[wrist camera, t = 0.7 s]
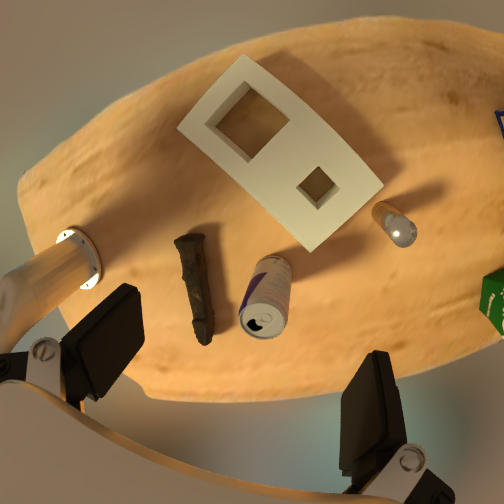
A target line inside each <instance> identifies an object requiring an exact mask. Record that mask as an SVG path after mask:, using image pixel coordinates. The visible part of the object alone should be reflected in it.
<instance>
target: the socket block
mask: <svg viewBox="0 0 504 504" xmlns="http://www.w3.org/2000/svg"><path fill="white" fill-rule="evenodd" d="M251 88H252V89H254V90H255V91H256V92H257V93H258V94H260V95H261V96H262V97H263V98H265V99H266V100H267V101H268V102H269V103H271V104H272V105H273V106H274V107H275V108H276V109H278V110H279V111H280V112H281V113H282V114H283V115H284V116H285V117H287V118H288V119H289V120H290V121H289V122H288V123H287V124H286V125H285V126H284V127H283V128H282V129H281V130H280V131H279V132H278V133H277V134H276V135H275V136H274V137H273V138H272V139H271V140H270V141H269V142H268V143H267V144H266V145H265V146H264V147H263V148H262V149H261V150H260V151H259V153H258V154H257V155H256V156H255V157H254V158H253V159H252V158H251V157H249V156H248V155H247V154H246V153H245V152H244V151H243V150H242V149H241V148H239V147H238V146H237V145H236V144H235V143H234V142H233V141H232V140H230V139H229V138H228V137H227V136H226V135H225V134H224V133H222V132H221V131H220V130H219V129H218V128H217V127H215V126H216V125H217V124H218V123H219V122H220V121H221V120H222V119H223V117H224V116H225V115H226V114H227V113H228V112H229V111H230V110H231V109H232V108H233V106H234V105H235V104H236V103H237V102H238V101H239V100H240V99H241V98H242V97H243V96H244V95H245V94H246V93H247V92H248V91H249V90H250V89H251ZM176 129H178V130H179V131H180V132H181V133H182V134H183V135H185V136H186V137H187V138H188V139H189V140H190V141H191V142H193V143H194V144H195V145H196V146H197V147H198V148H199V149H201V150H202V151H203V152H204V153H205V154H206V155H207V156H208V157H210V158H211V159H212V160H213V161H214V162H215V163H216V164H217V165H218V166H220V167H221V168H222V169H223V170H224V171H225V172H226V173H227V174H228V175H229V176H231V177H232V178H233V179H234V180H235V181H236V182H237V183H238V184H239V185H240V186H241V187H242V188H244V189H245V190H246V191H247V192H248V193H249V194H250V195H251V196H252V197H253V198H254V199H255V200H256V201H257V202H258V203H260V204H261V205H262V206H263V207H264V208H265V209H266V210H267V211H268V212H269V213H270V214H271V215H272V216H273V217H274V218H275V219H276V220H277V221H278V222H279V223H280V224H281V225H282V226H284V227H285V228H286V229H287V230H288V231H289V232H290V233H291V234H292V235H293V236H294V237H295V238H296V239H297V240H298V241H299V242H300V243H301V244H302V245H303V246H304V247H305V248H306V249H307V250H308V251H309V252H310V253H311V252H312V251H313V250H314V249H315V248H317V247H318V246H319V245H320V244H321V243H322V242H323V241H324V240H326V239H327V238H328V237H329V236H330V235H331V234H332V233H333V232H335V231H336V230H337V229H338V228H339V227H340V226H341V225H342V224H343V223H345V222H346V221H347V220H348V219H349V218H350V217H351V216H352V215H353V214H354V213H355V212H357V211H358V210H359V209H360V208H361V207H362V206H363V205H364V204H365V203H366V202H367V201H368V200H370V199H371V198H372V197H373V196H374V195H375V194H376V193H377V192H378V191H379V190H380V189H381V188H382V187H383V186H384V185H383V183H382V182H381V181H380V180H379V179H378V177H377V176H376V175H375V174H374V173H373V172H372V170H371V169H370V168H369V167H368V166H367V165H366V163H365V162H364V161H363V160H362V159H361V158H360V157H359V156H358V155H357V153H356V152H355V151H354V150H353V149H352V148H351V147H350V146H349V145H348V144H347V143H346V142H345V141H344V140H343V139H342V138H341V137H340V135H339V134H338V133H337V132H336V131H335V130H334V129H333V128H332V127H331V126H330V125H329V124H327V123H326V122H325V121H324V120H323V119H322V118H321V117H320V116H319V115H318V114H317V113H316V112H315V111H314V110H313V109H312V108H311V107H309V106H308V105H307V104H306V103H305V102H304V101H303V100H302V99H300V98H299V97H298V96H297V95H296V94H295V93H294V92H292V91H291V90H290V89H289V88H288V87H286V86H285V85H284V84H283V83H282V82H280V81H279V80H278V79H277V78H275V77H274V76H273V75H272V74H270V73H269V72H268V71H266V70H265V69H264V68H262V67H261V66H260V65H258V64H257V63H256V62H254V61H253V60H252V59H250V58H249V57H248V56H246V55H245V54H242V55H241V56H240V57H239V58H238V59H237V60H236V61H235V62H234V63H233V64H232V65H231V66H230V67H229V68H228V69H227V70H226V71H225V72H224V73H223V74H222V75H221V76H220V77H219V78H218V80H217V81H216V82H215V83H214V84H213V85H212V86H211V87H210V88H209V89H208V91H207V92H206V93H205V94H204V95H203V96H202V97H201V99H200V100H199V101H198V102H197V103H196V104H195V106H194V107H193V108H192V109H191V110H190V112H189V113H188V114H187V115H186V117H185V118H184V119H183V120H182V122H181V123H180V124H179V125H178V127H177V128H176ZM318 166H319V167H320V168H321V169H322V170H323V171H324V172H325V173H326V174H327V175H328V176H329V178H330V179H331V180H332V181H333V182H334V183H335V184H334V185H333V186H332V187H331V188H330V189H329V190H328V191H327V192H326V193H325V194H324V195H323V196H322V197H321V198H320V199H319V200H318V201H316V202H315V201H314V200H313V199H312V198H311V197H310V196H309V195H308V194H307V193H306V192H305V191H304V190H303V189H302V188H301V187H300V186H299V184H300V183H301V182H302V181H303V180H304V179H305V178H306V177H307V176H308V175H309V174H310V173H311V172H312V171H313V170H314V169H315V168H316V167H318Z"/></svg>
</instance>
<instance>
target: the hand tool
mask: <svg viewBox="0 0 504 504" xmlns="http://www.w3.org/2000/svg"><path fill="white" fill-rule="evenodd" d="M204 237H205V236H204V235H203V234H187V235H183V236H180V237H179V238H177V239H175V240H174V244H175V246H176V248H177V249H178V251H179V253H180V259H181V263H182V268H183V274H182V275H183V276H182V279H183V280H184V281H185V283H186V287H187V292H188V297H189V301H190V305H191V309H192V313H193V320H192V324H193V328H194V333H195V334H196V338H197V339H198V342H199V343H200V344H202V345H203V346H206V345H208V344H209V343H211V342H212V337H213V333H214V311H213V310H212V308H211V301H210V295H209V286H208V281H207V273H206V264H205V259H204V254H203V247H202V242H203V239H204Z"/></svg>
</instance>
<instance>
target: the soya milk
mask: <svg viewBox="0 0 504 504" xmlns="http://www.w3.org/2000/svg"><path fill="white" fill-rule="evenodd" d="M479 310H480V311H481V312H482V313H483V314H484V315H485V316H486V317H487V318H488V319H489V320H490V321H491V322H492V324H493V325H494V326H495V328H496V329H497V330H498V332H499V333H500V335H501V336H502V337H503V339H504V269H502V270H500V271H498V272H495V273H493V274H490V275H488V276H485V277H483V283H482V293H481V301H480V308H479Z"/></svg>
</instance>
